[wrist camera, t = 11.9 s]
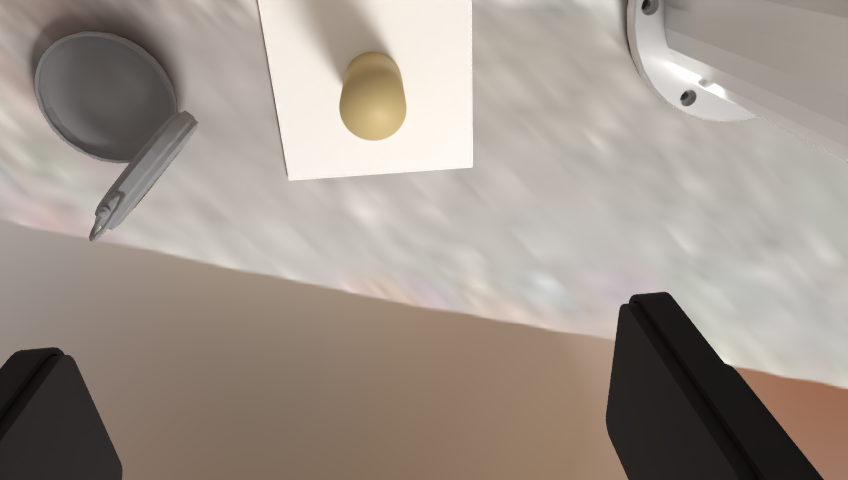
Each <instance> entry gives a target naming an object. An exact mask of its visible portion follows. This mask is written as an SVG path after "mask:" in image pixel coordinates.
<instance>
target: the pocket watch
mask: <svg viewBox="0 0 848 480" xmlns="http://www.w3.org/2000/svg"><path fill="white" fill-rule="evenodd" d="M34 83H35V94H36V98H37V101H38V105H39V108H40V110H41V112H42V113H43V115H44V117H45V119H46V120H47V122H48V123H49V125H50V127H51V128H52V130H53V131H54V132H55V133H56V134H57V135H58V136H59V137H60V138H61V139H62V140H63V141H65V142H66V143H67V144H69V145H70V146H71V147H73V148H74V149H75V150H77V151H79V152H81V153H83V154H85V155H87V156H90V157H92V158H94V159H97V160H100V161H105V162H112V163H128V162H130V163H129V165H128V166H127V167H126V168H125V170H124V171H123V172H122V174H121V175H120V176H119V178H118V179H117V180H116V181H115V183H114V184H113V185H112V187H111V188H110V189H109V191H108V192H107V193H106V195H105V196H104V198H103V199H102V201H101V202H100V203H99V205H98V207H97V209H96V212H95V215H96V216H97V217H96V220H95V224H94V226H93V228H92V230H91V233H90V236H89V239H90V241H91V242H94V241H96V240H97V239H98V238H100V237H101V236H102V235H103V234H104V233H105V232H106V230H107V229H110V230H113V229H114V228H115V227H117V226H118V225H119V224H120V223H121V222H122V221H123V220H124V219H125V218H126V217H127V216H128V214H129V213H130V212H131V211H132V210H133V209H134V208H135V206H136V205H137V204H138V203H139V202H140V201H141V199H142V198H143V197H144V196H145V194H146V193H147V192H148V191H149V190H150V188H151V187H152V186H153V185H154V183H155V182H156V181H157V180H158V178H159V177H160V176H161V175H162V173H163V172H164V171H165V170H166V168H167V167H168V166H169V165H170V163H171V162H172V161H173V160H174V158H175V157H176V156H177V154H178V153H179V152H180V150H181V149H182V148H183V146H184V145H185V144H186V142H187V141H188V139H189V138H190V137H191V135H192V134H193V133H194V131H195V129H196V127H197V124H198V122H197V121H196V120H195V119H194V117H193V116H192V115H191V114H189V113H188V112H187V111H184V112H182V113H179V112H178V110H177V99H176V95H175V92H174V89H173V86H172V83H171V81H170V79H169V78H168V76H167V74H166V73H165V71H164V69H163V68H162V67H161V65H160V64H159V63H158V62H157V61H156V60H155V58H154V57H153V56H151V55H150V54H149V53H148V52H147V51H146V50H144V49H143V48H142V47H140V46H139V45H137V44H135V43H134V42H132V41H130V40H128V39H126V38H123V37H120V36H118V35H115V34H112V33H105V32H95V31H82V32H79V33H75V34H72V35H68V36H65V37H62V38H60V39H59V40H57V41H56V42H54V43H53V44H52V45H51V46H50V47H49V48H48V49H47V50H46V51H45V53H44V54H43V55H42V57H41V58H40V61H39V63H38V66H37V68H36V73H35V80H34ZM177 112H178V113H177ZM100 226H101V227H102V228H101V229H100V230H99V231H98V229H99V227H100ZM97 231H98V232H97ZM96 232H97V233H96Z"/></svg>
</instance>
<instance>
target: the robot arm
mask: <svg viewBox="0 0 848 480" xmlns="http://www.w3.org/2000/svg"><path fill="white" fill-rule="evenodd" d="M643 1H644V0H628V6H627V36H628V41H629V46H630V50H631V55H632V58H633V60H634V63H635V65H636V67H637V69H638V72H639V74H640V76H641V77H642V79H643V80H644V81H645V83H646V84H647V85H648V87H649V88H650V89H651V91H652V92H653V93H654V94H656V95H657V96H658V97H659V98H660V99H662V100H663V101H664V102H665V103H666V104H668V105H669V106H671V107H673V108H674V109H676V110H677V111H679V112H681V113H683V114H686V115H689V116H692V117H695V118H698V119H700V120H707V121H715V122H732V121H743V120H747V119H751V118H755V117H760V118H762V119H763V120H765V121H767V122H769V123H771V124H773V125H775V126H777V127H779V128H781V129H783V130H785V131H787V132H789V133H791V134H793V135H795V136H797V137H798V138H800V139H802V140H804V141H806V142H808V143H810V144H812V145H814V146H816V147H818V148H820V149H822V150H824V151H826V152H828V153H830V154H832V155H833V156H835V157H837V158H839V159H841V160H843V161H845V162H847V163H848V0H647V6H646V7H645V8H643V9H641V6H642V3H643ZM684 92H685V94H684V96H683V97H681V95H682V94H683V93H684ZM606 424H607V430H608V434H609V437H610V439H611V442H612V444H613V446H614V448H615V450H616V453H617V455H618V457H619V459H620V461H621V464H622V466H623V468H624V470H625V473H626V475H627V477H628V479H629V480H824V479H823V478H822V477H821V476H820V474H819V473H818V472H817V471H816V469H815V468H814V467H813V466H812V464H811V463H810V462H809V461H808V459H807V458H806V457H805V456H804V454H803V453H802V452H801V451H800V449H799V448H798V447H797V446H796V444H795V443H794V442H793V441H792V439H791V438H790V437H789V436H788V434H787V433H786V432H785V431H784V429H783V428H782V427H781V426H780V424H779V423H778V422H777V421H776V419H775V418H774V417H773V416H772V414H771V413H770V412H769V411H768V409H767V408H766V407H765V406H764V404H763V403H762V402H761V401H760V399H759V398H758V397H757V396H756V394H755V393H754V392H753V390H752V389H751V388H750V387H749V386H748V384H747V383H746V382H745V380H744V379H743V378H742V377H741V376H740V374H739V373H738V372H737V371H736V370H735V369H734V368H733V367H732V366H729V365H727V364H724V362H723V361H722V360H721V358H720V357H719V356H718V355H717V353H716V352H715V351H714V350H713V348H712V347H711V346H710V344H709V343H708V342H707V341H706V339H705V338H704V337H703V336H702V334H701V333H700V332H699V330H698V329H697V328H696V327H695V325H694V324H693V323H692V322H691V320H690V319H689V318H688V316H687V315H686V314H685V313H684V311H683V310H682V309H681V307H680V306H679V305H678V304H677V302H676V301H675V300H674V299H673V297H672V296H671V295H670V294H669V293H667V292H658V293H647V294H636V295H633V296H631V298H630V300H629V304H623V305H621V307H620V310H619V317H618V325H617V333H616V341H615V349H614V357H613V365H612V372H611V380H610V388H609V396H608V404H607V412H606ZM0 480H122V465H121V462H120V460H119V458H118V455H117V453H116V451H115V449H114V446H113V444H112V442H111V440H110V438H109V436H108V433H107V431H106V429H105V426H104V424H103V422H102V420H101V418H100V416H99V413H98V411H97V409H96V407H95V404H94V402H93V400H92V398H91V395H90V393H89V391H88V389H87V387H86V384H85V382H84V380H83V378H82V376H81V373H80V371H79V369H78V367H77V365H76V362H75V361H74V359H73V358H72V357H71V356H70V355H64V353H63V352H62V351H61V350H60V349H59V348H54V347H52V348H40V349H30V350H20V351H17V352H15V353H14V354H13V355H12V356H11V357H10V358H9V359H8V360H7V361H6V363H5V364H4V365H3V366H2V367H1V369H0Z"/></svg>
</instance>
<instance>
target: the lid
mask: <svg viewBox="0 0 848 480" xmlns="http://www.w3.org/2000/svg"><path fill="white" fill-rule="evenodd" d="M258 4H259V10H260V16H261V22H262V27H263V33H264V39H265V45H266V51H267V56H268V62H269V68H270V74H271V80H272V85H273V91H274V97H275V103H276V109H277V115H278V120H279V126H280V132H281V138H282V144H283V149H284V155H285V161H286V167H287V173H288V178H289V181H290V180H304V179H318V178H332V177H346V176H360V175H374V174H387V173H401V172H415V171H429V170H443V169H457V168H471V167H473V131H472V0H258Z"/></svg>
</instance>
